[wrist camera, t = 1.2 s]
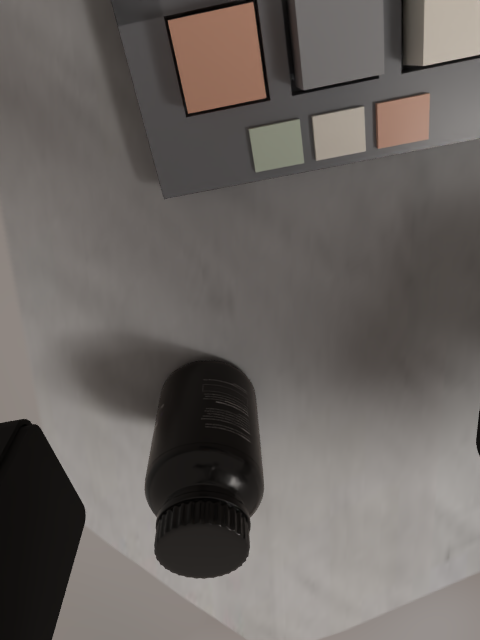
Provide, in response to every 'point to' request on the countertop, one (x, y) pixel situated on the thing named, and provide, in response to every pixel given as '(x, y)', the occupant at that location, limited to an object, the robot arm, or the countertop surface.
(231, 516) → the supplement bottle
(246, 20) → the key terracotta
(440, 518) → the countertop surface
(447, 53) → the key cream
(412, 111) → the keypad
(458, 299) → the countertop surface
